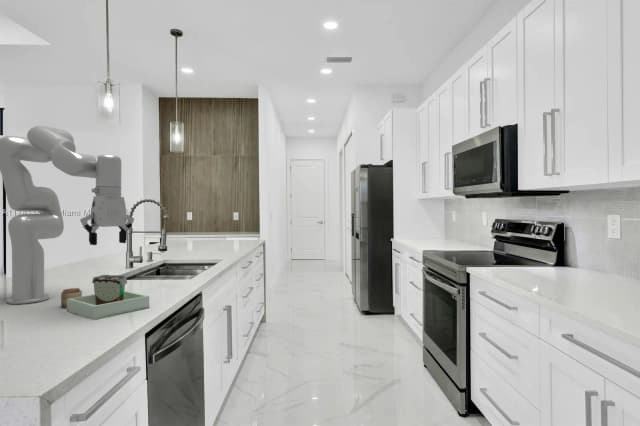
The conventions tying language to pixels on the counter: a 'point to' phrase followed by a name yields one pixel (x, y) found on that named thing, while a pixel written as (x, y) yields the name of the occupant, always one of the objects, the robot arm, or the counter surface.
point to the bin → (107, 305)
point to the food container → (109, 288)
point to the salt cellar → (69, 295)
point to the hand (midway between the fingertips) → (108, 243)
